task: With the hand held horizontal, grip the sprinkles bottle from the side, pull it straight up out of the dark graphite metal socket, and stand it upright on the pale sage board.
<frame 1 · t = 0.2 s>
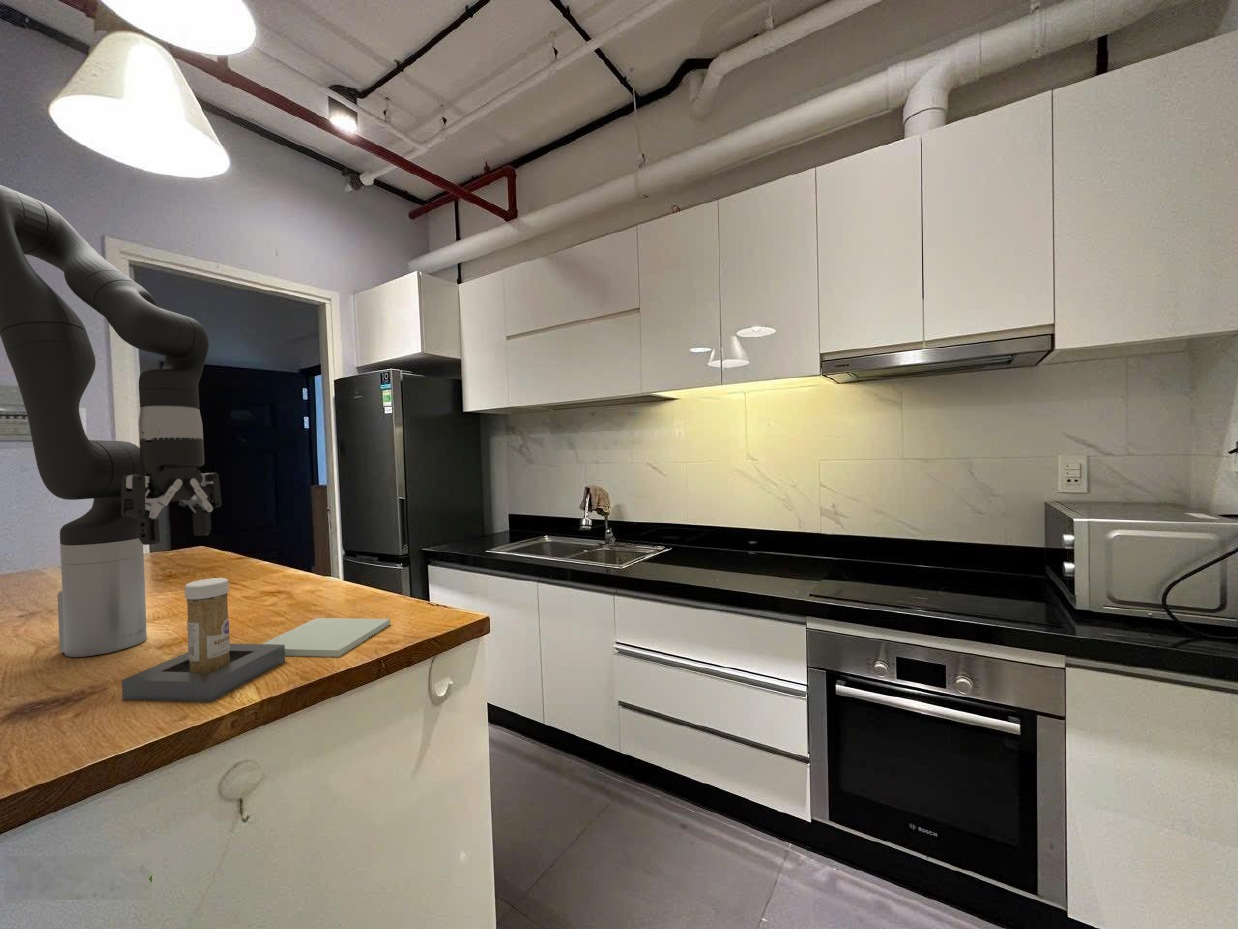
hand: (177, 539, 78), 17 cm above the counter, tool pointing down, fingers open, 8 cm apart
sprinkles bottle: (210, 680, 67), resting in metal socket
sage board: (326, 638, 82), on the counter
metal socket: (210, 679, 67), on the counter
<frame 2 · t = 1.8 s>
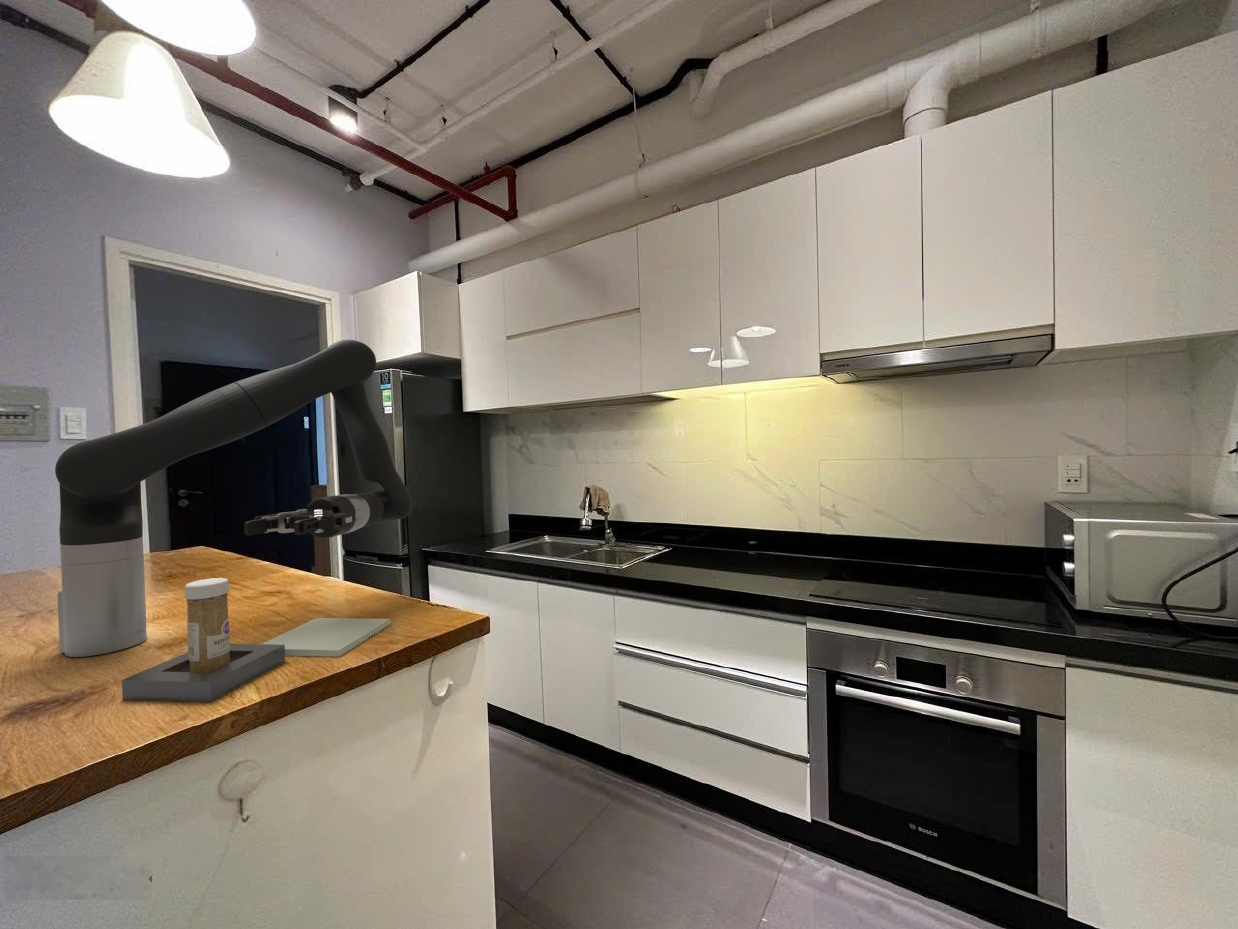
hand: (271, 528, 78), 19 cm above the counter, tool horizontal, fingers open, 8 cm apart
nothing on the counter moved.
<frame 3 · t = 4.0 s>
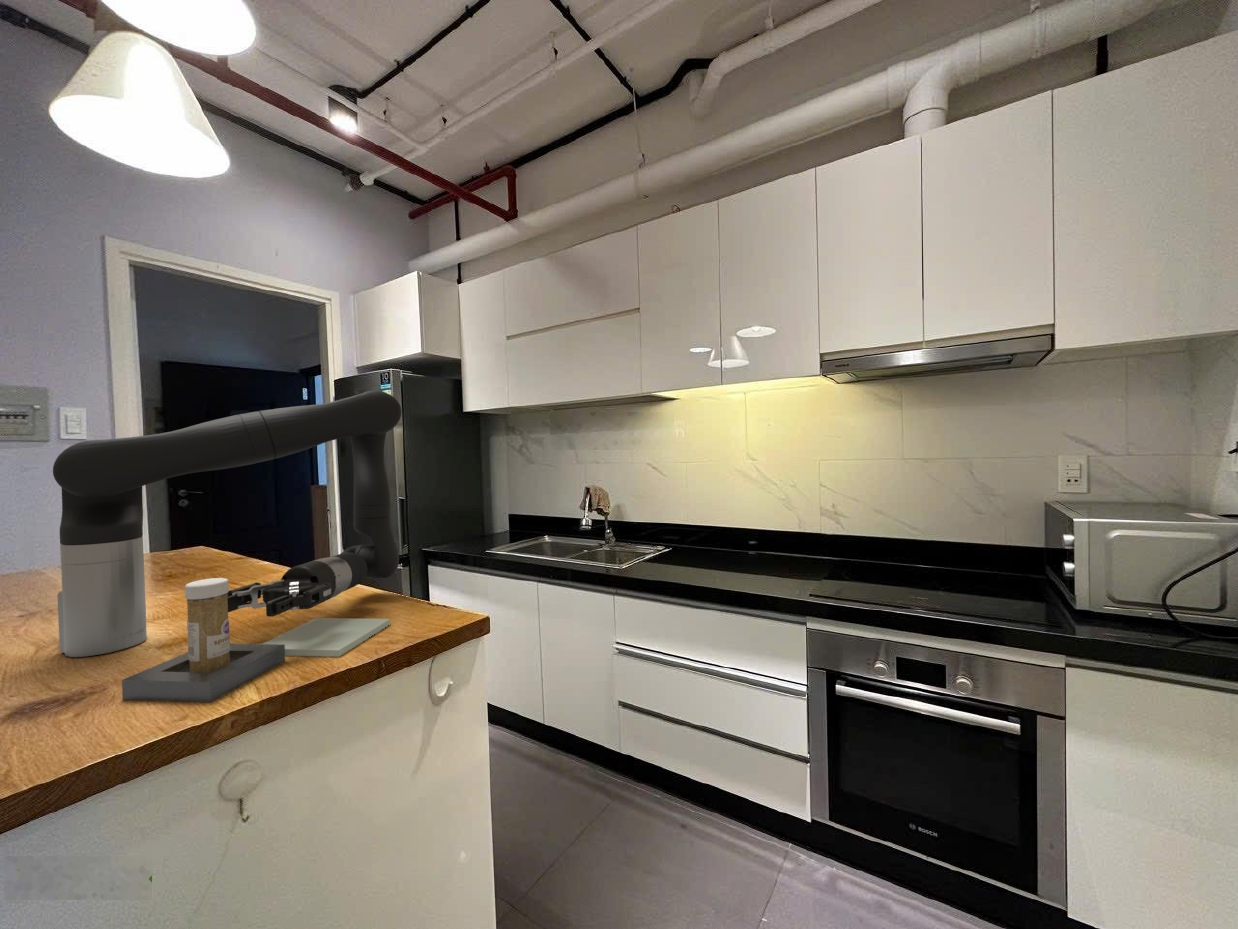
hand: (241, 609, 72), 8 cm above the counter, tool horizontal, fingers open, 8 cm apart
nothing on the counter moved.
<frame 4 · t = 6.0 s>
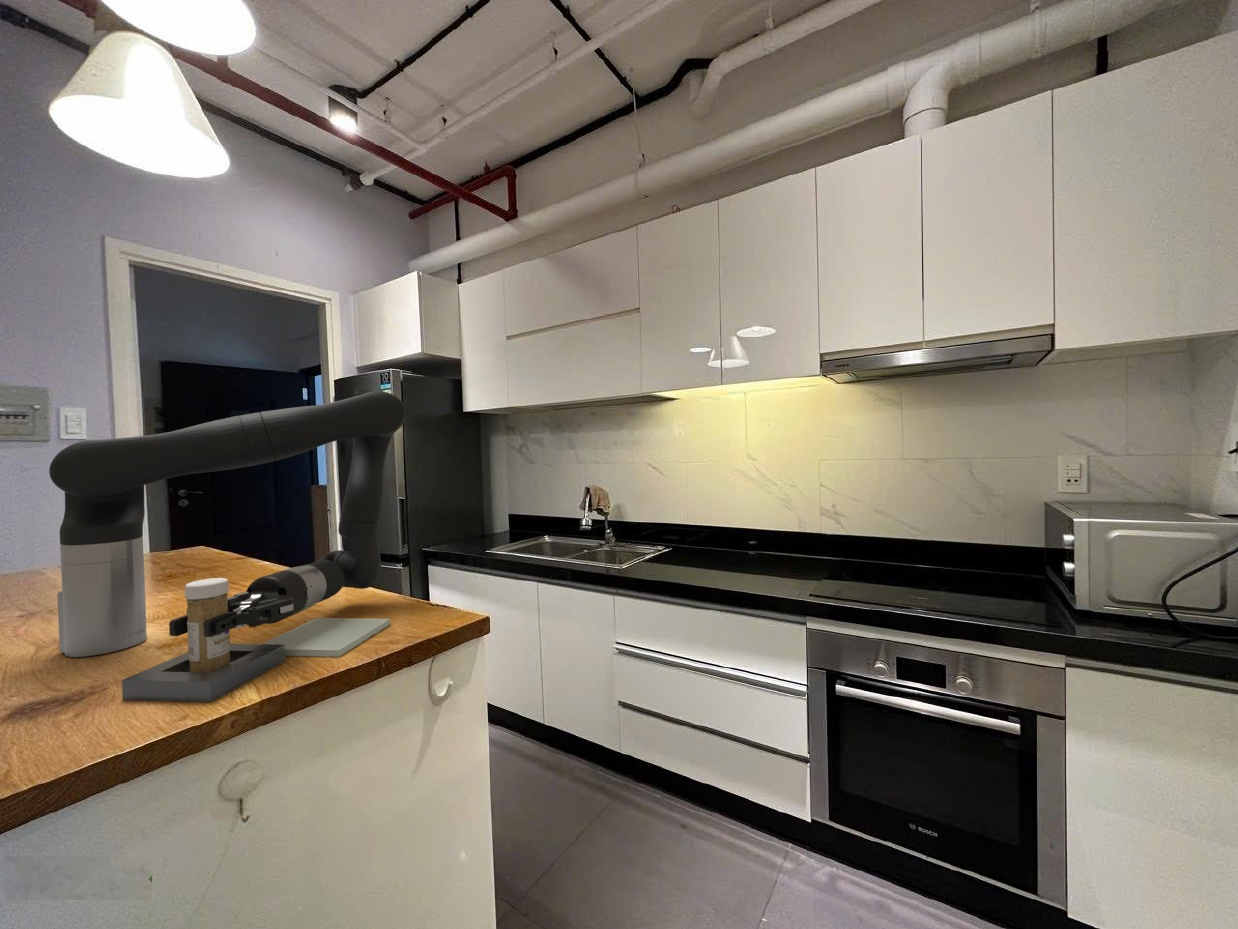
hand: (189, 629, 64), 8 cm above the counter, tool horizontal, fingers closed on sprinkles bottle, 4 cm apart
sprinkles bottle: (210, 680, 67), resting in metal socket, touching gripper
everything else where it was.
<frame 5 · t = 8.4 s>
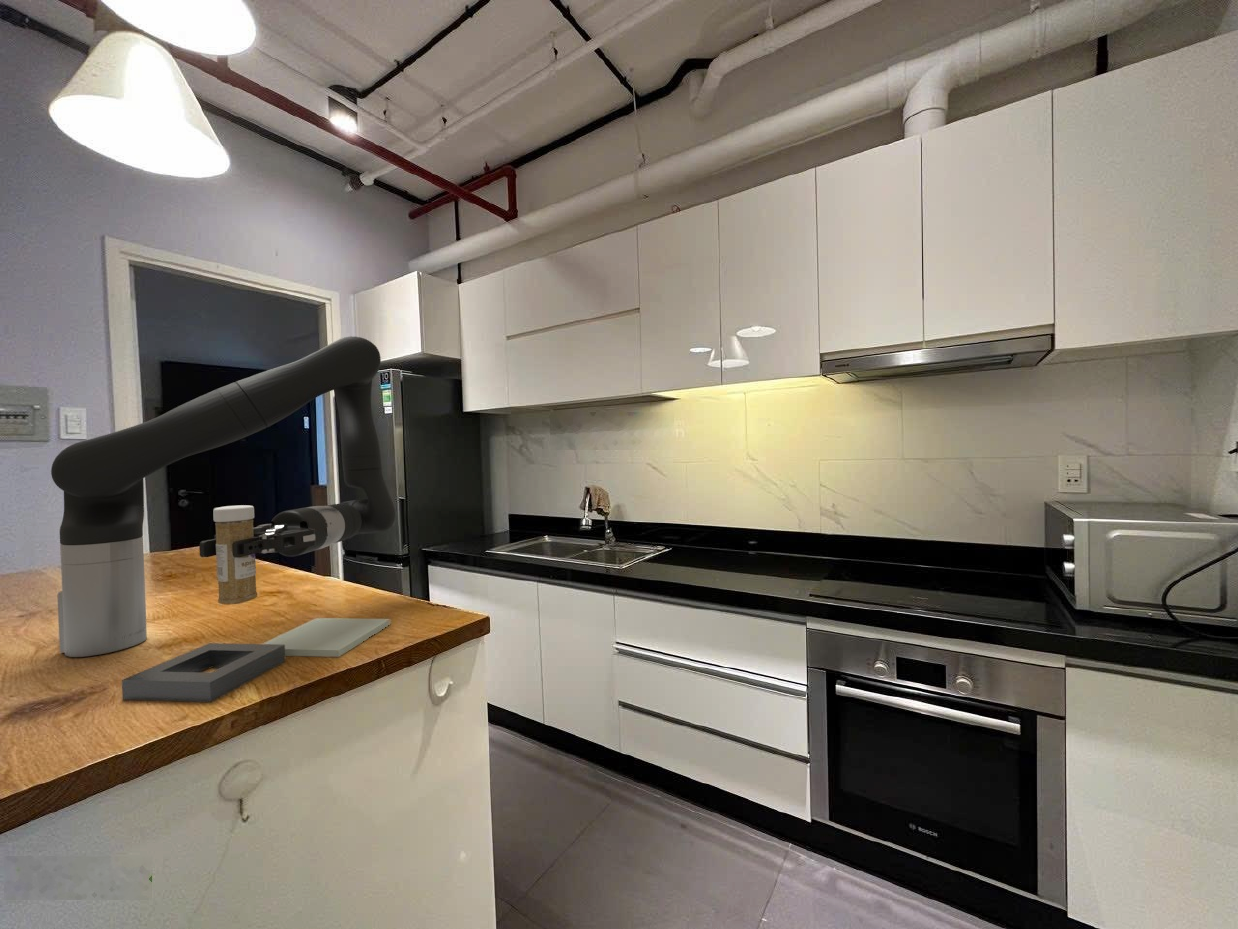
hand: (218, 549, 67), 18 cm above the counter, tool horizontal, fingers closed on sprinkles bottle, 4 cm apart
sprinkles bottle: (238, 602, 70), point 10 cm above the counter, touching gripper
everything else where it was.
when the fingers open (10 cm above the counter, at t = 11.0 s): sprinkles bottle drops 1 cm, resting on sage board.
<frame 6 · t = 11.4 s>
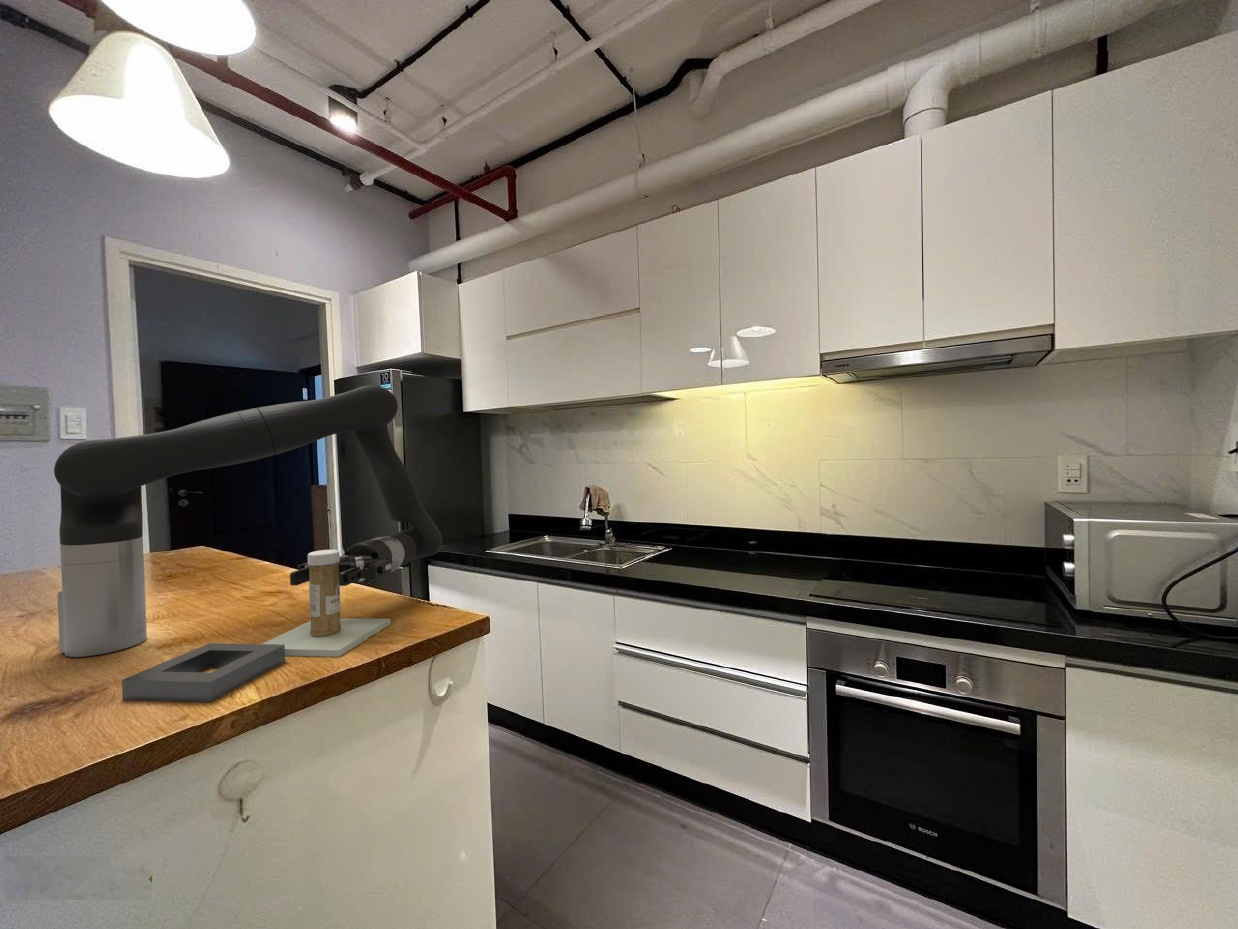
hand: (316, 579, 80), 10 cm above the counter, tool horizontal, fingers open, 8 cm apart
sprinkles bottle: (325, 633, 82), point 1 cm above the counter, touching sage board
everything else where it was.
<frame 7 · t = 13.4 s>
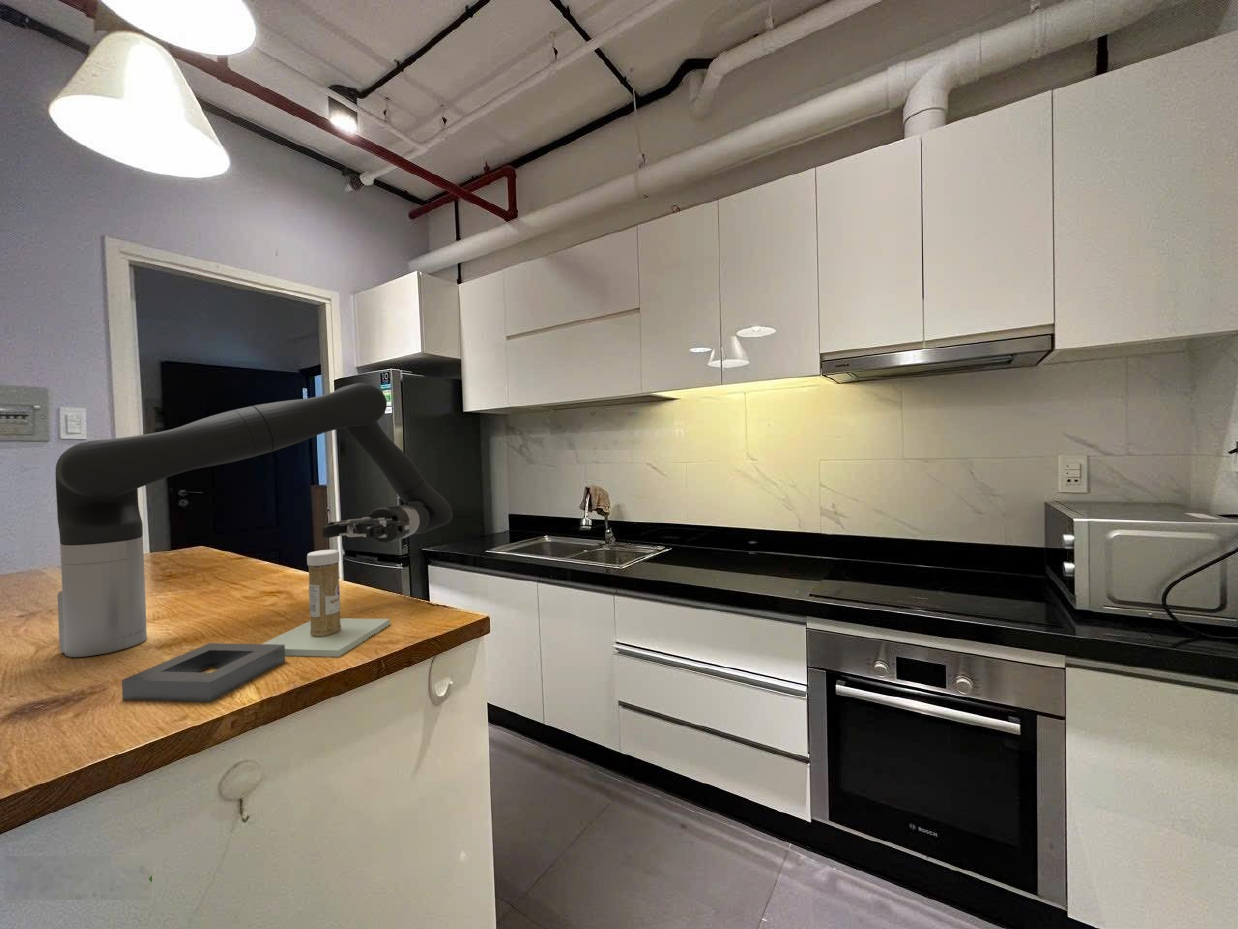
hand: (346, 532, 92), 16 cm above the counter, tool horizontal, fingers open, 8 cm apart
nothing on the counter moved.
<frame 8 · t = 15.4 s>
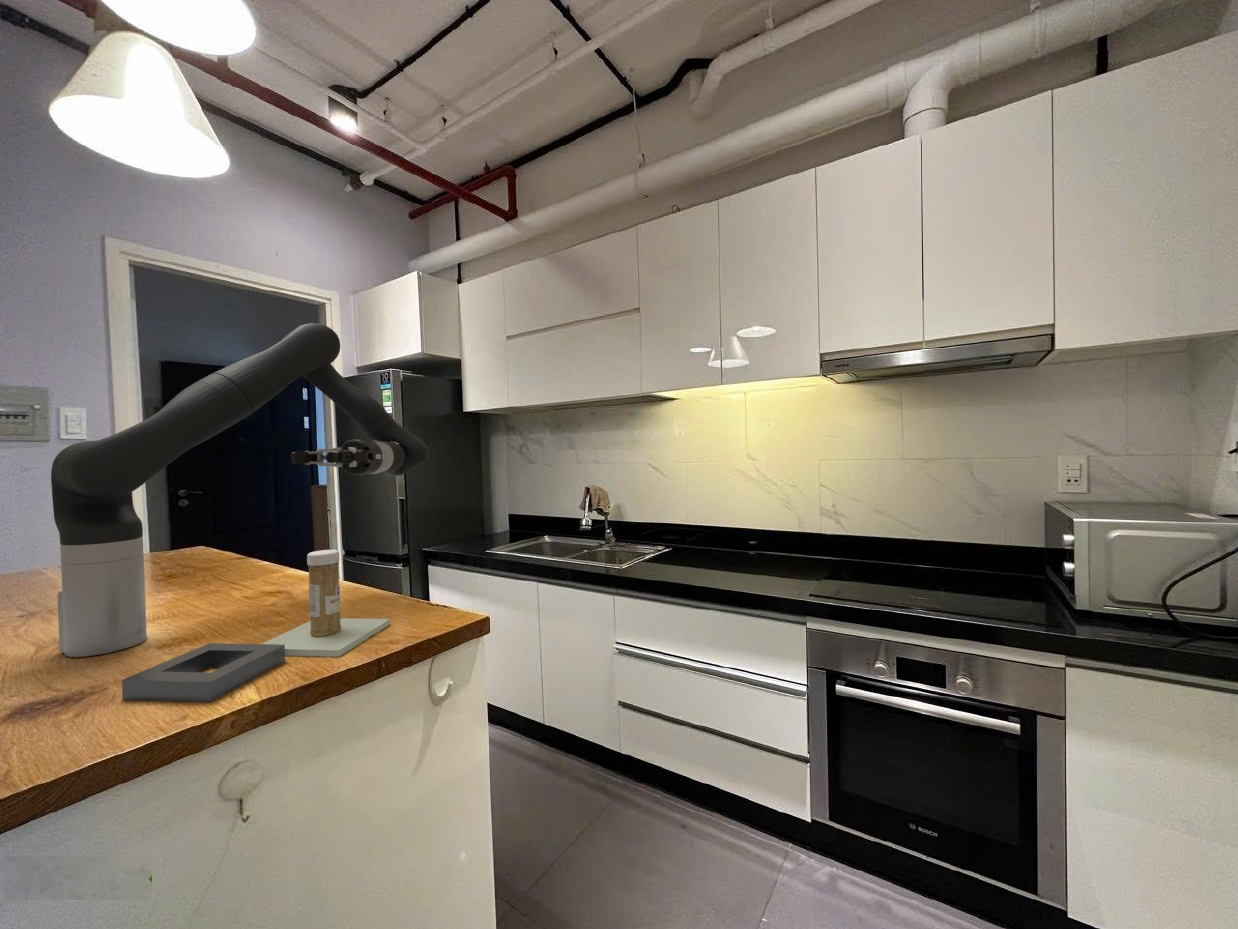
hand: (314, 457, 91), 30 cm above the counter, tool horizontal, fingers open, 8 cm apart
nothing on the counter moved.
at the end: sprinkles bottle inside the target area on the sage board (0.2 cm from its centre), point 0.8 cm above the sage board's base; sprinkles bottle tilted 0°; the gripper is holding nothing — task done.
